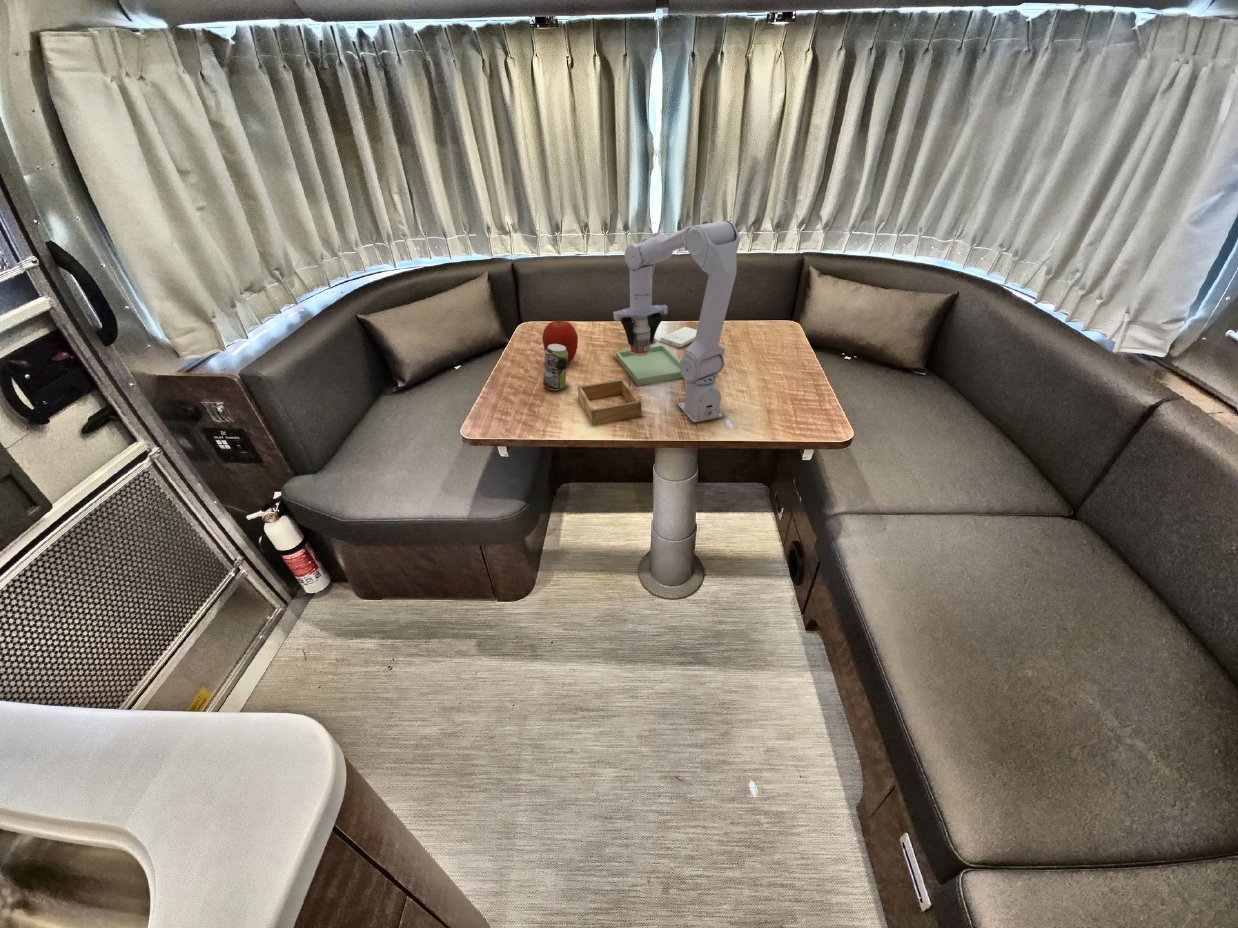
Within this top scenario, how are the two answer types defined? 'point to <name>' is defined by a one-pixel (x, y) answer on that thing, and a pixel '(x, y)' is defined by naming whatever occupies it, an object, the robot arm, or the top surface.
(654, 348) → the tray
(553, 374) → the beverage can
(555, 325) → the apple
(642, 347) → the pill bottle
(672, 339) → the hard drive
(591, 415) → the open wooden box
